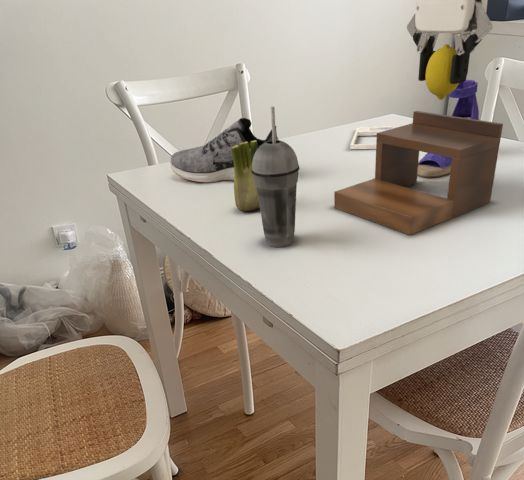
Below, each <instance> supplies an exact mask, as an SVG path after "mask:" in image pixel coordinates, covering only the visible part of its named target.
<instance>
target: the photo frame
mask: <svg viewBox="0 0 524 480" xmlns="http://www.w3.org/2000/svg"><path fill="white" fill-rule="evenodd" d="M401 126H402V125H392V126H391V125H389V126H388V125H387V126H385V125H384V126H357V127H356V130H355V132H354V135H353V137H352V139H351V141H350V144H349V149H350V150H376V143H358V144H357V143H356V142H357V139H358V137H367V136H368V137H369V136H371V137H372V136H377V133H379V132H383V131H386V130H390V129H394V128H397V127H401Z"/></svg>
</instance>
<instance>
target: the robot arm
mask: <svg viewBox="0 0 524 480" xmlns="http://www.w3.org/2000/svg"><path fill="white" fill-rule="evenodd" d="M415 2H416V3H415V13H414V14H413V16H412V17H411V19H410V20H409V22H408V24H407V25H406V30H407V32H408V33H409V34H410V36H411V38H412V41H413V42H414V45H415V46H416V52H417V53H418V54H419V64H418V65H419V66H418V77H417V79H418V81H419V82H424V81H426V77H425V76H426V68H427V65H428V62H429V59H430V57H431V56H432V55H433V53H434V52H435V51H436V50H434V49H435V46H436V44H437V41H438V37H439V34H453V38H454V46H455V50H456V53H457V55H453V57H452V66H451V75H450V83H451V84H457V83H461V82H465V81H466V80H467V76H468V73H469V66H470V65H469V64H470V57H471V56H470V55H471V54H473V53H474V51H475V48H476V47H477V46H478V45H479V44H480V43H481V42H482V40H483V39H484V38H485V37H486V36H487V35H488V34H489V33H490V32H491V31H492V30H493V23H492V21H491V19H490V18H489V16H488V14H487V10H488V0H416V1H415ZM473 31H474V32H473Z"/></svg>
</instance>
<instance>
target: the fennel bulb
mask: <svg viewBox="0 0 524 480" xmlns="http://www.w3.org/2000/svg"><path fill="white" fill-rule="evenodd" d="M231 150H232V156H233V162H234V172H235V175H234V181H233V195H234V204H235V207H236V208H237V209H238V210H239V211H242V212H249V211H253V210H257V209H260V206H259V200H258V194H257V188H256V186H255V182H254V179H253V174H252V173H251V170H252V162H253V157H254V154H255V152H256V151H257V141H256V140H255V141H251V142H250V150H249V144H248V142H244V143H240V144H239V146H238V145H236V146H233V147H232V148H231Z"/></svg>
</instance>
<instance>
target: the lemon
mask: <svg viewBox="0 0 524 480" xmlns="http://www.w3.org/2000/svg"><path fill="white" fill-rule="evenodd" d="M434 51H435V52H434V53H433V55H432V56H431V57H430V59H429V62H428V65H427V68H426V76H425V77H426V80H425V85H426V87H427V89H428V91H429V92H430V93H431V94H432V95H434V96H436V98H437V99H438V100H439V101H443V100H444V99H445V98H447V95H448V94H450V93H452V92H453V91H454V90H455V89H456V88H457V86H458V84H459V83H457V84H451V83H450V75H451V66H452V57H453V55H457V53H456V48H453V47H452V46H450V44H447V43H445V44H443V45H442V47H440V48H438V49H437V50H434Z"/></svg>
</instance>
